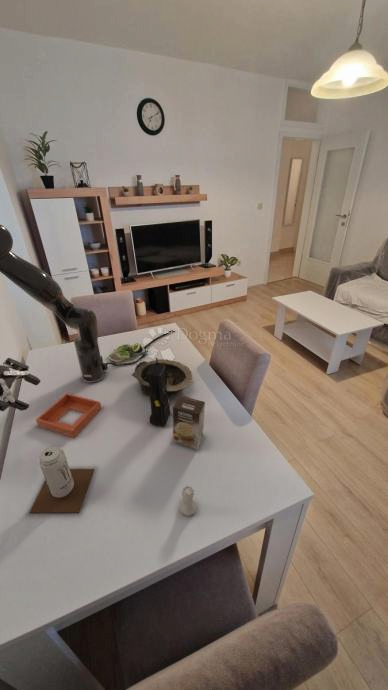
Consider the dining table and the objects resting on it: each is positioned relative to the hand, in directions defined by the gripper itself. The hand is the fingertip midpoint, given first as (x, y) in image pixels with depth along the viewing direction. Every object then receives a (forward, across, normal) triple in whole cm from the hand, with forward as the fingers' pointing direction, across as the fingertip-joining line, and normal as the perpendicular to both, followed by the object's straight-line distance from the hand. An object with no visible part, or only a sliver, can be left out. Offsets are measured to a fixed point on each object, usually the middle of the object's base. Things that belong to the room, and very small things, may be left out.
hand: (33, 394), depth 77 cm
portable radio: (+43, +7, -6) cm, 44 cm away
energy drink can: (+20, -18, +9) cm, 28 cm away
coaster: (+20, -18, +9) cm, 29 cm away
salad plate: (+38, +53, +14) cm, 66 cm away
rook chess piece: (+43, -25, -18) cm, 53 cm away
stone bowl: (+46, +27, -4) cm, 54 cm away
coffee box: (+48, -2, -15) cm, 50 cm away
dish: (+20, +10, +18) cm, 29 cm away
